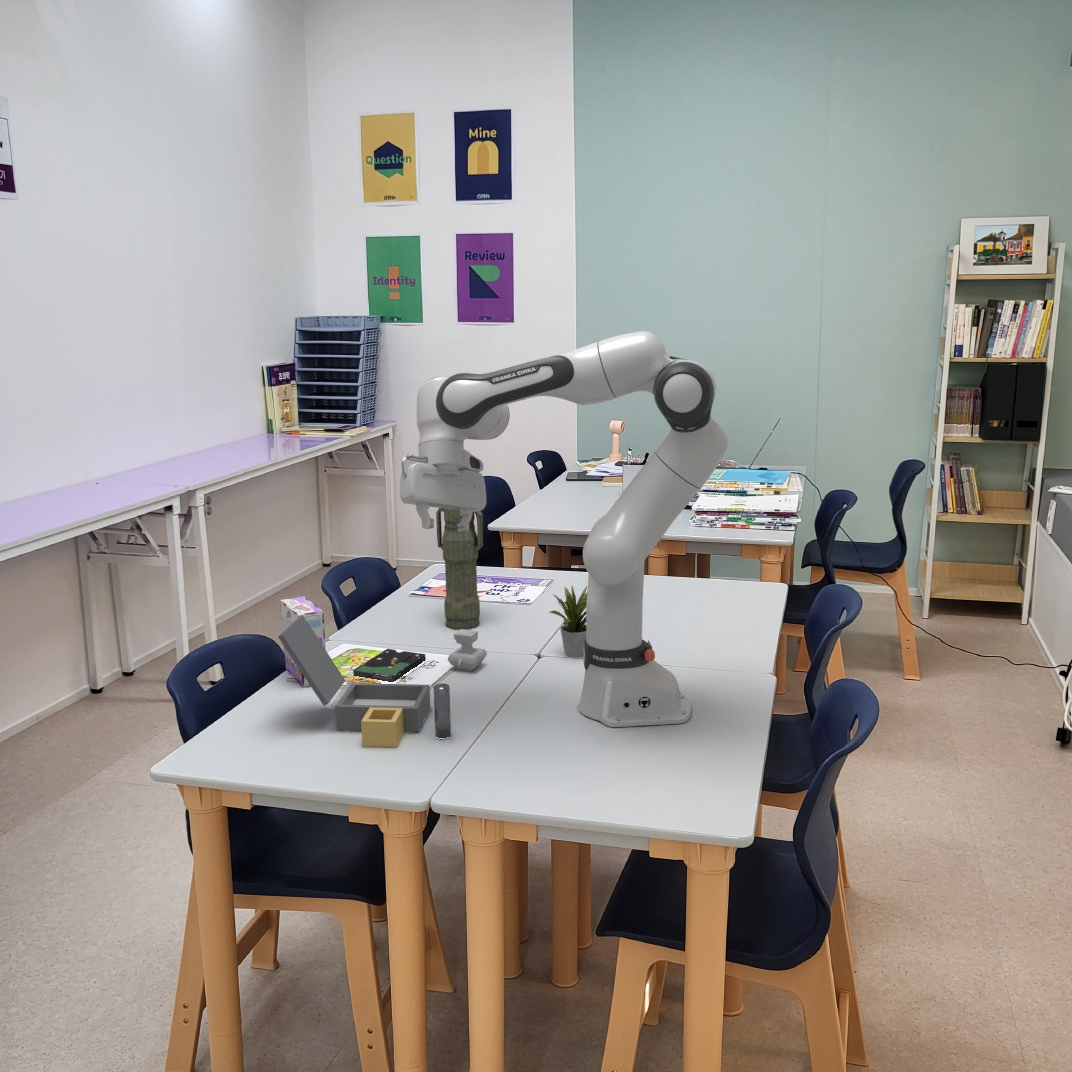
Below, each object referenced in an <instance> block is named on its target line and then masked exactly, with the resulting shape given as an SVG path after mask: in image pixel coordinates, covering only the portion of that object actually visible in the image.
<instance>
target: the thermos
mask: <svg viewBox="0 0 1072 1072" xmlns="http://www.w3.org/2000/svg"><path fill="white" fill-rule="evenodd" d="M442 513H443V521H444V527H443V528H444V529H443V530H444V531H443V532H442ZM435 514H436V519H435V520H436V541H437V548H441V551H442V559H443V560H444V568H445V569H444V572H445V598H444V617H445V627H447V629H450V630H456V631H459V630H460V629H464V630H473V629H475V628H478V627H479V626H480V614H481V608H480V607H481V606H480V605H481V604H480V597H479V595H478V582H477V581H478V580H477V579H478V576H477V575H478V574H477V573H478V570H477V562H478V561H477V560H478V558H479V551H480V550H481V549H482V548H483V546H484V541H483V539H484V538H483V537H484V535H483V532H484V531H483V529H484V528H483V527H484V522H483V521H484V520H483V519H484V514H483V513H482V510H480V511H476V512H473V515H472V517H471V520H470V522H469V531H468V532H465V533H462V532H458V527H457V524H458V523H460V522H461V519H462V516H461V515H460V510H452V509H444V508H438V509H437V511H436V513H435ZM475 515H476V518H475ZM475 519H476V525H475ZM476 531H477V532H476ZM442 533H443V534H442Z"/></svg>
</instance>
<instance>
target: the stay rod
mask: <svg viewBox="0 0 1072 1072" xmlns="http://www.w3.org/2000/svg"><path fill="white" fill-rule="evenodd" d="M450 689H451V688H450V685H449V684H447V683H437V684H435V685H433V708H434V710H433V711H434V729H435V730H434V734H435V736H436V737H438V738H447V737H450V736H451V737H452V722H451V721H452V720H451V719H452V718H451V714H452V713H451V693H450V692H451V691H450ZM436 737H435V738H436ZM451 737H450V738H451Z"/></svg>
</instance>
